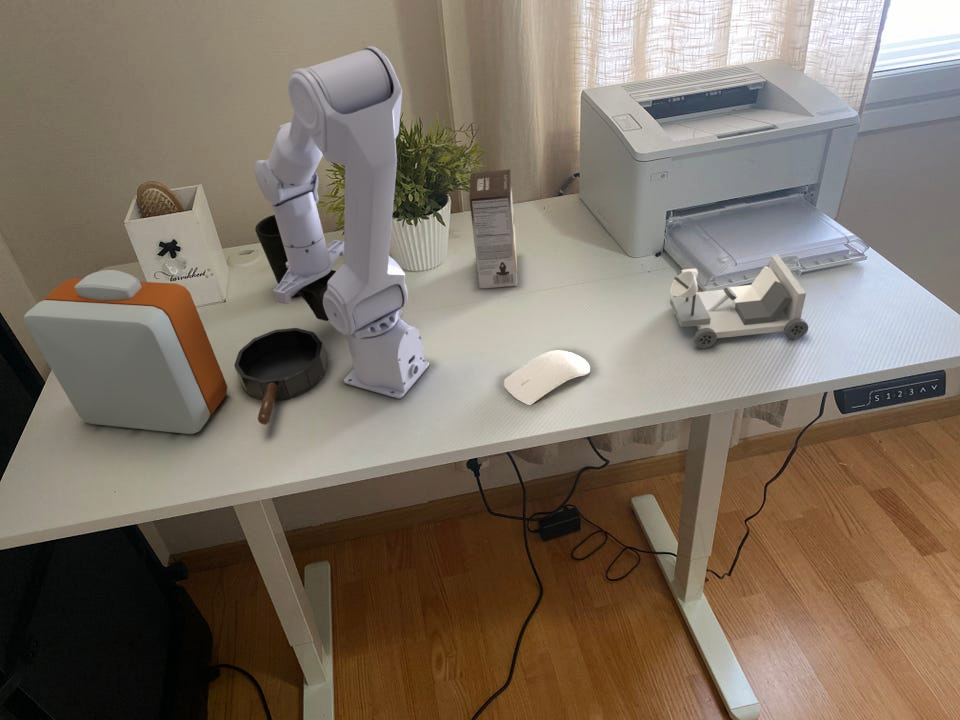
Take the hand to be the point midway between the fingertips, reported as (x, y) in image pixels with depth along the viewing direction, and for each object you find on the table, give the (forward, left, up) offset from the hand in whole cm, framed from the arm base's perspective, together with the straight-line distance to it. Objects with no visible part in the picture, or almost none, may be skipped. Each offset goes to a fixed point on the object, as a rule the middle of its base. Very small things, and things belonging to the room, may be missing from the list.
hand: (324, 317), depth 111 cm
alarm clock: (+12, +24, -3) cm, 27 cm away
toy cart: (-55, -22, -3) cm, 59 cm away
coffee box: (-18, -23, -3) cm, 29 cm away
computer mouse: (-36, -2, -3) cm, 36 cm away
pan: (-2, +14, -3) cm, 14 cm away
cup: (+12, -8, -3) cm, 15 cm away
